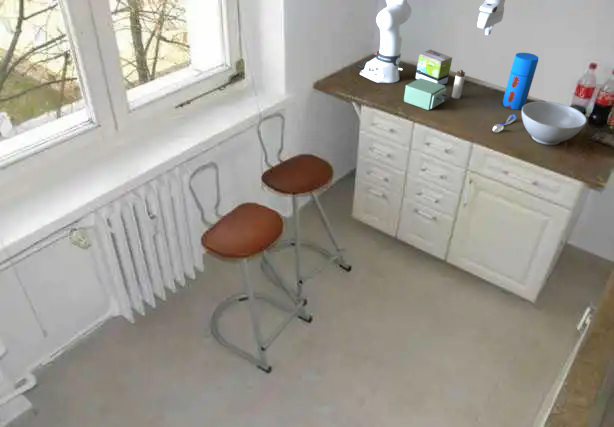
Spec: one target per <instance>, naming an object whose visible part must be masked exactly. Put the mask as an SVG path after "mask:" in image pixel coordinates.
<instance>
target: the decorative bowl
mask: <svg viewBox="0 0 614 427" xmlns="http://www.w3.org/2000/svg"><path fill="white" fill-rule="evenodd" d="M521 119H522V124H523V126H524V128H525V130H526V131H527V133H528V134H529V135H530V136H531V138H532V139H533V140H534V141H535V142H537V143H540V144H543V145H547V146H555V145H559V144H561V142H566V141H568V140H570V139H572V138H573V137H575V136H576V135H578V134H579V132H581V130H583V128H584V127H585V126H586V125H587V122H588V120H587V117H586V115H585V114H584V113H583V112H582V111H580V110H578V109H576V108H574V107H572V106H569V105H567V104H563V103H561V102H553V101H548V100H547V101H545V100H541V101H538V100H537V101H531V102H526V103H525V105H524V106H523V107H522V109H521Z"/></svg>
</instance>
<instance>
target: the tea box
mask: <svg viewBox="0 0 614 427" xmlns="http://www.w3.org/2000/svg"><path fill="white" fill-rule="evenodd" d="M452 62H453V57H452V56H450V55H447V54H444V53H441V52H438V51H436V50H432V49H428V50H425V51H422V52H420V53H419V54H418V60H417V66H416V72H415V79H416V80H417V79H419V78H422V79H425V80H428V81H432V82H435V83H438V84H441V85H445V84H447V83H448V81H449V77H450V72H451V66H452Z"/></svg>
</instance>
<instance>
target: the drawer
mask: <svg viewBox="0 0 614 427" xmlns="http://www.w3.org/2000/svg"><path fill="white" fill-rule="evenodd" d="M447 90H448V89H447V88H446V87H445V88H444V89H442V90H440V91H438V92H436V93H435V94H433V95H432V97H431V103H430V110H433V109H434V108H436V107H437V106H439V105H441V104H442V103H444V102H446V101H448V100H450V99H451V98H452V95H451V94H447Z"/></svg>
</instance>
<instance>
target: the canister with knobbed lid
mask: <svg viewBox="0 0 614 427" xmlns="http://www.w3.org/2000/svg"><path fill="white" fill-rule="evenodd" d="M465 79H466V72H465V71H464V70H463V69H460V70H458V71H457V72H456V74H455V78H454V81H453V86H452V92H451V98H453V99H456V100H457V99H461V96H462V93H463V92H462V91H463V88H464V84H465Z"/></svg>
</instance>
